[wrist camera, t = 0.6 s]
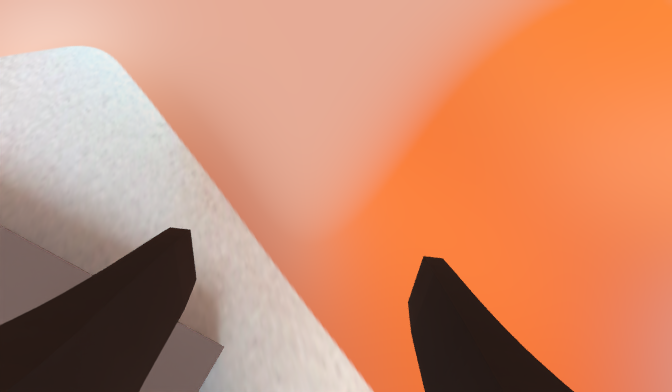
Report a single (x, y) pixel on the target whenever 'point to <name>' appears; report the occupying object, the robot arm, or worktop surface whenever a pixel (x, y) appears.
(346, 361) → the worktop surface
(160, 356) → the block
